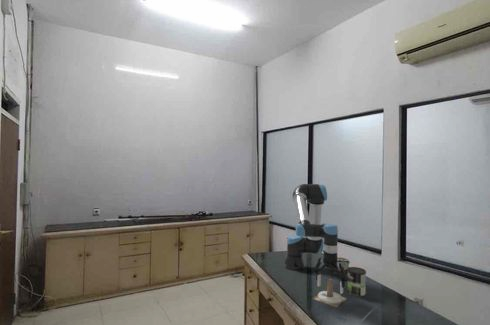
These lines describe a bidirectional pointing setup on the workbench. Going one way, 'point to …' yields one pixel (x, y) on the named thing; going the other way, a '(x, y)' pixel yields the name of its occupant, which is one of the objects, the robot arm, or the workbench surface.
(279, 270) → the workbench surface
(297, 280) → the workbench surface
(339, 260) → the food container
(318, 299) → the mat
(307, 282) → the workbench surface
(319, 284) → the robot arm
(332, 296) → the lid
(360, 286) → the coffee can
